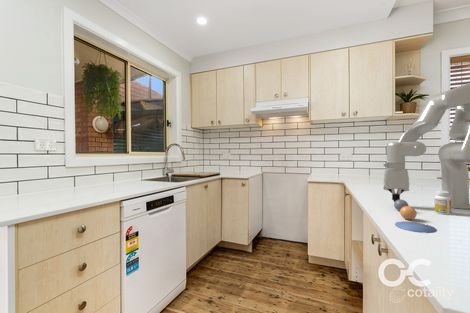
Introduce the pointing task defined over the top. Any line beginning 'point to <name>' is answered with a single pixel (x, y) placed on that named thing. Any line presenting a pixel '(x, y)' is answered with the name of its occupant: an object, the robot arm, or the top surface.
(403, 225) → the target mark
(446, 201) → the supplement bottle
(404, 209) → the object ball
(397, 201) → the grey ball
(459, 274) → the top surface
